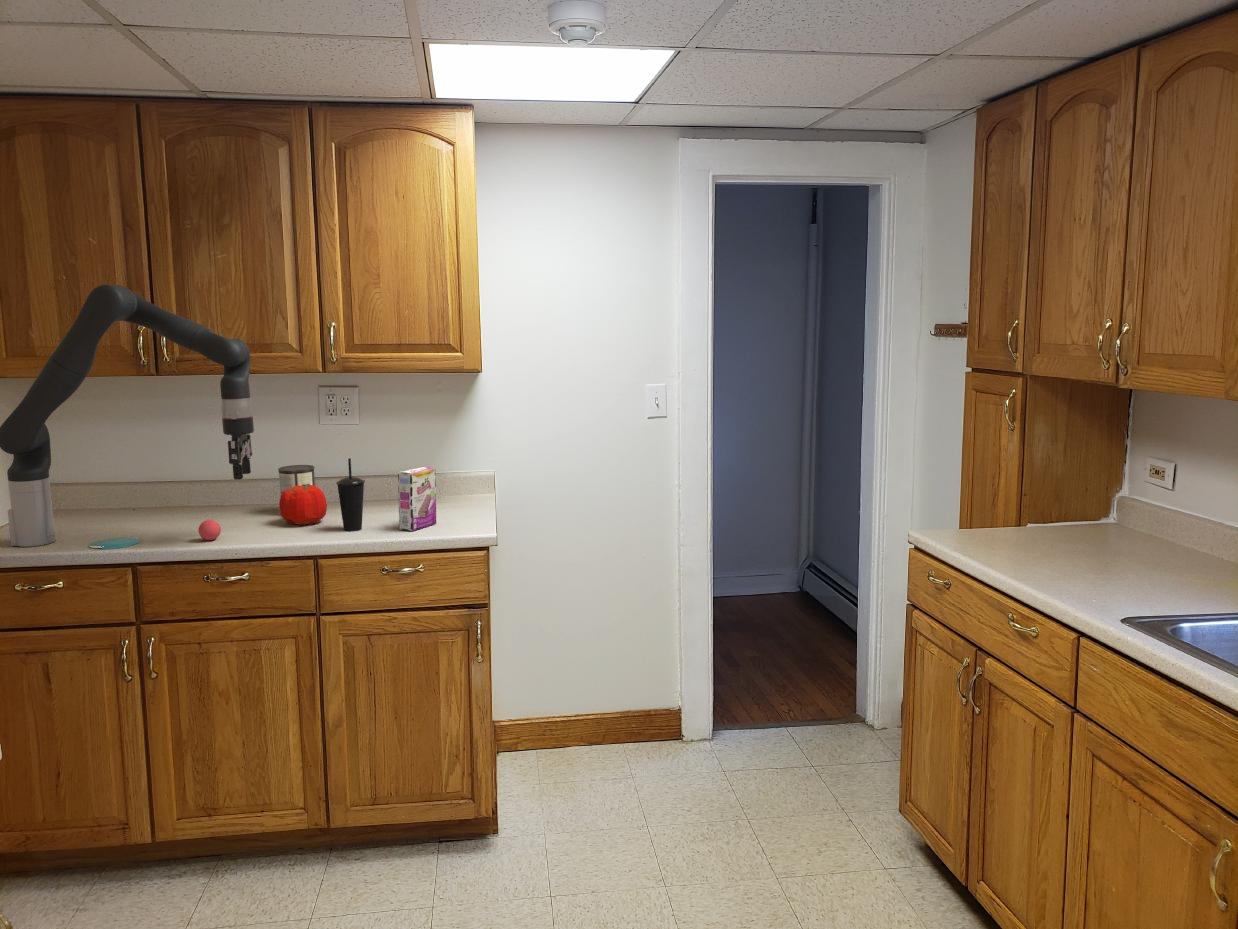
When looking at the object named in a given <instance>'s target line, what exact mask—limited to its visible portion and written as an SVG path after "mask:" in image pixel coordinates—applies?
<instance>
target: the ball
mask: <svg viewBox="0 0 1238 929" xmlns="http://www.w3.org/2000/svg"><path fill="white" fill-rule="evenodd" d="M197 530H198V531H197V532H198V535H199V536H200V538H201V539H203V540H206V541H214V540H216V539H217V538H219V536H220V535H221V532H222V528H221V525H220V523H218V521H216V520H213V519H207V520H204V521H202V522H200V524H199V526H198V529H197Z"/></svg>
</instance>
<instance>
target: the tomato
mask: <svg viewBox="0 0 1238 929" xmlns="http://www.w3.org/2000/svg"><path fill="white" fill-rule="evenodd" d="M278 503H279V504H278V506H279V514H280V515H281V518H282V519H283V520H284V521H286V522H287V523H289V524H296V525H299V526H304V525H305V526H306V525H307V524H311V525H312V524H316V523H318V522H320V521H321V520H323V519H324V518H325V516H326V514H327V511H328V503H327V498H326V496H325V494H324V492H323V491H322V489H321V488H320V487H318V486H316V485H315V486H313V485H309V486H308V487H306V486H300V485H297V486H295V487H292V488H290V489H287V490H285V491H283V493H282V494H281V495H280V496H279V502H278Z"/></svg>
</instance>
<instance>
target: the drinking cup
mask: <svg viewBox="0 0 1238 929" xmlns="http://www.w3.org/2000/svg"><path fill="white" fill-rule="evenodd" d="M347 459H348V461H347V463H348V465H347V466H348V476H346V477H343V478H341V479H339V480H337V481H336V482H335V483H336V485H337V492H338V499H339V504H340V512H341V513H340V514H341V519H342V527H343V531H344V530H345V532H358V531H361V530H363V510H364V509H363V507H364V488H365V483H366V480H365V479H362V478H360V477H357V476H352V460H351V457H349V458H347Z"/></svg>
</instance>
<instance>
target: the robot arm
mask: <svg viewBox="0 0 1238 929" xmlns="http://www.w3.org/2000/svg"><path fill="white" fill-rule="evenodd" d="M115 322H126V323H131V324H133V325H139V326H142V327H144V328H146V329H149V330H151V331H153V332H155V333H157V334H159V335H160V336H162V337H163V338H165V339H166V340H168V341H170V342H171V343H174V344H177V345H178V346H181V347H182V348H185V349H187V350H190V351H192V352H195V353H198V354H200V355H201V356H204V357H205V358H207V359H208V360H210V361H212V362H213V363H216V364H218V365H221V366H223V376H222V378H221V379H220V383H219V384H220V385H219V386H220V397H221V404H220V405H221V406H220V409H221V420H222V433H223V435H226V436H227V435H228V436H231V440H228V441H227V448H228V449H227V450H228V463H229V465H231V466H232V476H233V479H234V480H236V481H237V480H242V479H243V478H244V475H249V474H251V472H252V471H251V458H252V456H253V451H252V441H251V440H252V438H251V434H252V433H254V431H255V429H254V428H255V426H254V417H253V416H254V415H253V405H252V400H251V394H250V392H251V391H250V383H249V378H250V372H251V370H250V369H251V353H250V352H251V351H250V348H249V346H248V345H247V343H246V342H245V341H243V340H242V339H239V338H228V337H227V338H226V337H224V336H221V335H220V334H217V333H214V332H213V330H212V329H210V328H209V327H207V326H205V325H202V324H200V323H197V322H195V321H194V320H190V319H188V318H185V317H183V316H180V315H178V314H175V313H173V312H171V311H169V310H166V309H164V308H161V307H159V306H158V305H156V304H154V303H151V302H150V301H148V300H146V299H145V298H143V297H141V296H140V295H139V294H136V293H135V292H134V291H132V290H131V289H129V288H127V287H126V286H123V285H119V284H112V283H111V284H110V283H104V284H99V285H97V286H96V287H95V286H94V288H93V289H92V290H90V293H89V294H88V295H87V297H86V299H85V302H83V305H82V307H81V309H80V311H79V313H78V315H77V316H76V319H75V320H74V322H73V324H72V326H71V327H70V329H69V330H68V331H67V332H66V334H65V335H64V337H63V338H62V340H61V341H60V343H59V344H58V346H57V347H56V348H55V350H54V351H53V352H52V354H51V355H50V356H49V358H48V359H47V361H46V363H45V364H44V366H43V367H42V369H41V371H40V372H39V374H38V376H36V379H35V380H34V381H33V383H32V384H31V387H30V388H29V389H28V391H27V393H26V395H25V396H24V398H22V400H21V401H20V403H19V404H18V405H17V406H16V408H15V409H14V410H13V411H12V412H11V413H10V415H9V416H8V417H7V418H6V419H5V420H4V421H3V422H2V423H1V425H0V450H2V451H3V452H5V453H7V454H9V455H13V458H12V463H11V465H9V468H8V469H7V472H6V474H7V483H8V492H9V502H10V509H8V510H7V516H8V519H7V520H8V527H9V537H10V545H11V547H12V546H14V547H37V546H43V545H44V544H45V545H49V544H52V543H55V540H56V530H55V520H54V508H53V502H52V491H51V481H50V469H51V466H52V454H51V451H52V450H51V439H50V438H51V436H50V431H49V428H48V427H47V425H46V424H45V423H46V421H48V419H49V417H50V416H51V415H52V414H53V412H55V411H56V410H57V409H58V408H59V407H61V405H63V403H65V402H66V401H67V400H68V399H69V398H70V397H72V396H73V394H75V392H76V391H78V389H79V387H81V385H82V384H83V382H84V380H85V379H86V378H87V376H88V375H89V373H90V372H91V369H93V365H94V361H95V358H96V353H97V351H98V350H97V349H98V347H99V344H100V341H101V340H102V339H103V336H105V334H106V332H107V331H108V330H109V329H110V327H111V326H112V325H113V324H114V323H115Z"/></svg>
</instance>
